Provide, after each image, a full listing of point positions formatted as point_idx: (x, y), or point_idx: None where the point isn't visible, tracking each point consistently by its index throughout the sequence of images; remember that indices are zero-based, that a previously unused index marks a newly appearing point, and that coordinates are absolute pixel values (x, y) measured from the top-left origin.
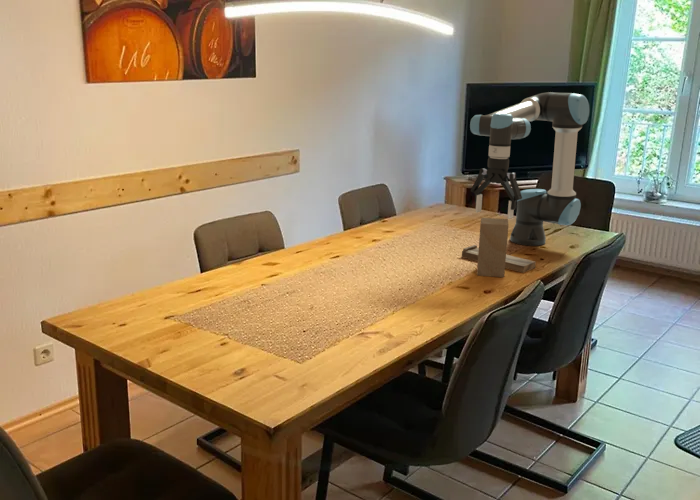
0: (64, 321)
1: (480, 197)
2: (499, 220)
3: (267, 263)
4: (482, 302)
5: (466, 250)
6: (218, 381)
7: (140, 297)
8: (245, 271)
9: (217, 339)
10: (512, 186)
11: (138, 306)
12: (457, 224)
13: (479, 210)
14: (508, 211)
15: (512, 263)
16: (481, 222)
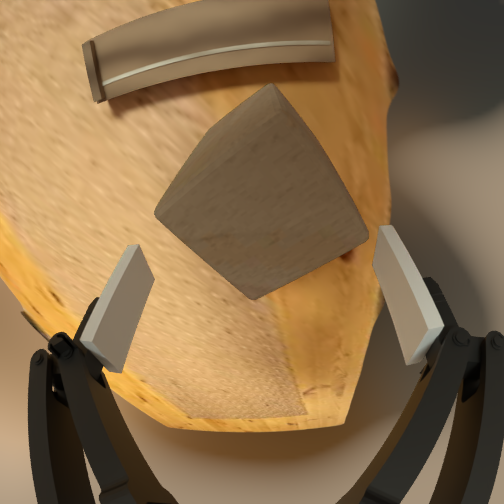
0: (171, 426)
1: (112, 340)
2: (272, 190)
3: None
4: (363, 293)
5: (102, 93)
6: (291, 427)
7: (145, 410)
8: None
9: (241, 420)
10: (448, 470)
11: (162, 415)
12: None
13: (142, 266)
14: (388, 298)
15: (290, 61)
16: (239, 289)
